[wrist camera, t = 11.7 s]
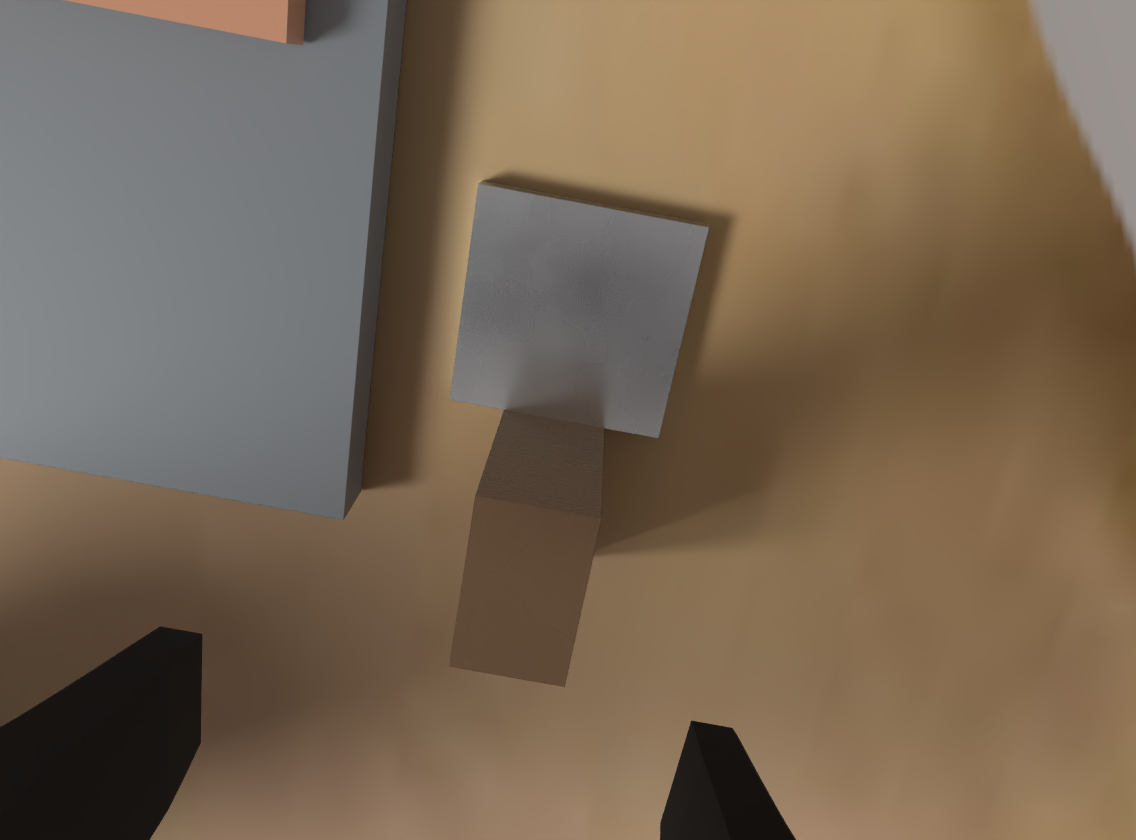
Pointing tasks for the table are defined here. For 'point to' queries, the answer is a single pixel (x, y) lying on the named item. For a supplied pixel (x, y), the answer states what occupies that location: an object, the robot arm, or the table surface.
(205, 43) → the board
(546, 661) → the turner
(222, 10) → the tile
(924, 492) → the table surface
